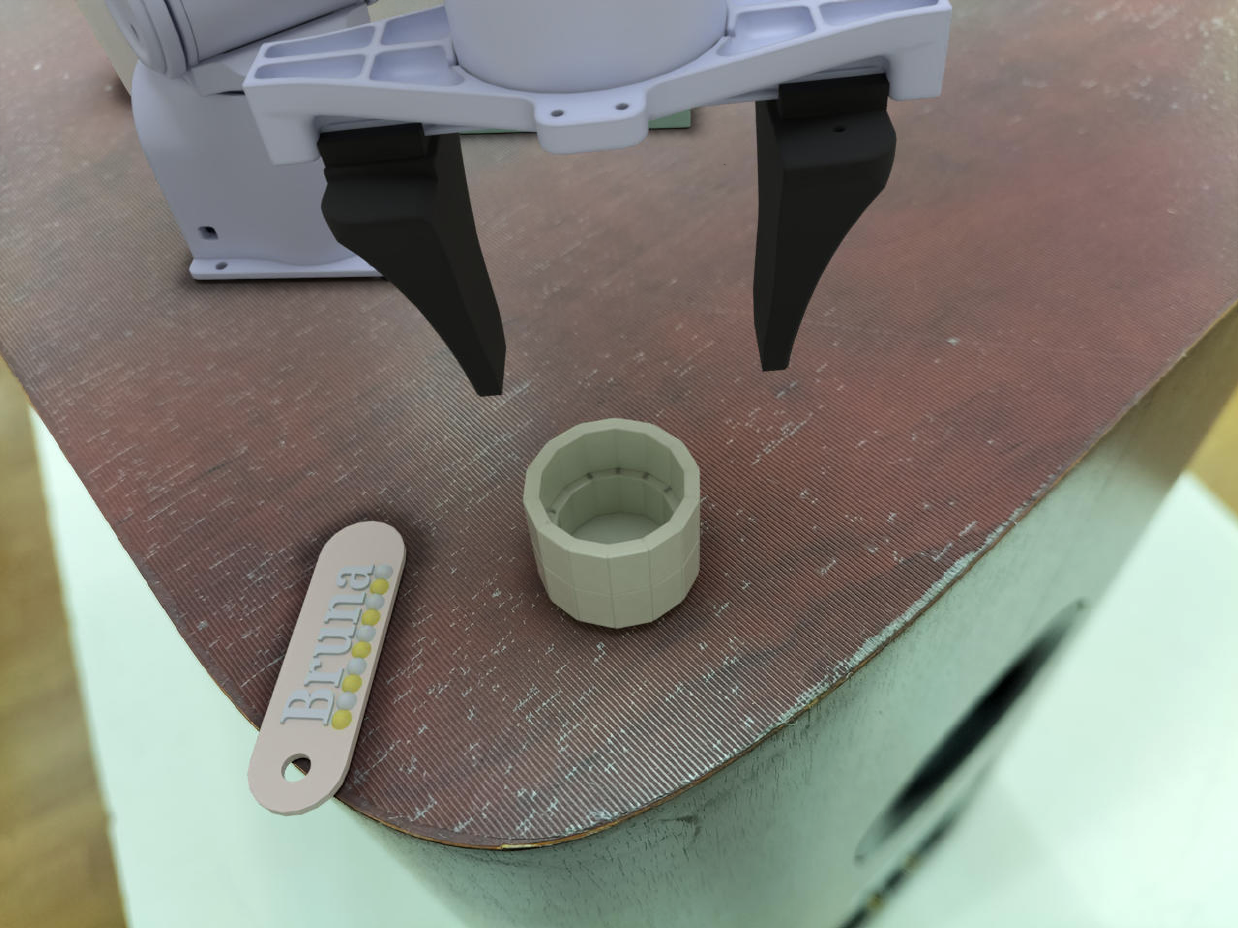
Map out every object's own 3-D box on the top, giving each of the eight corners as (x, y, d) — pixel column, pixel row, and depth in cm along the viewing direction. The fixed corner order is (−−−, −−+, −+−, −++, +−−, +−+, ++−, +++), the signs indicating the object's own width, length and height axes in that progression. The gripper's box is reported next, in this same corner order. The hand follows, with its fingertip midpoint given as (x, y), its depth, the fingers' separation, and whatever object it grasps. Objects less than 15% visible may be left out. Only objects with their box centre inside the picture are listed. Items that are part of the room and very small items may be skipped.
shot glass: (206, 115, 55) (153, -14, 49) (93, 108, 56) (29, -20, 51) (259, 51, 59) (216, -75, 54) (153, 45, 60) (101, -78, 55)
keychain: (328, 810, 29) (229, 805, 29) (335, 818, 29) (237, 813, 30) (410, 516, 35) (329, 515, 36) (414, 526, 36) (334, 525, 36)
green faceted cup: (533, 636, 33) (514, 557, 29) (548, 502, 36) (533, 417, 33) (700, 637, 32) (700, 557, 29) (698, 501, 36) (699, 416, 33)
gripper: (87, -96, 16) (347, 489, 25) (1047, -212, 15) (932, 440, 25) (206, -217, 20) (386, 314, 30) (934, -310, 20) (875, 267, 29)
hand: (630, 359), depth 28 cm, fingers open, 7 cm apart
